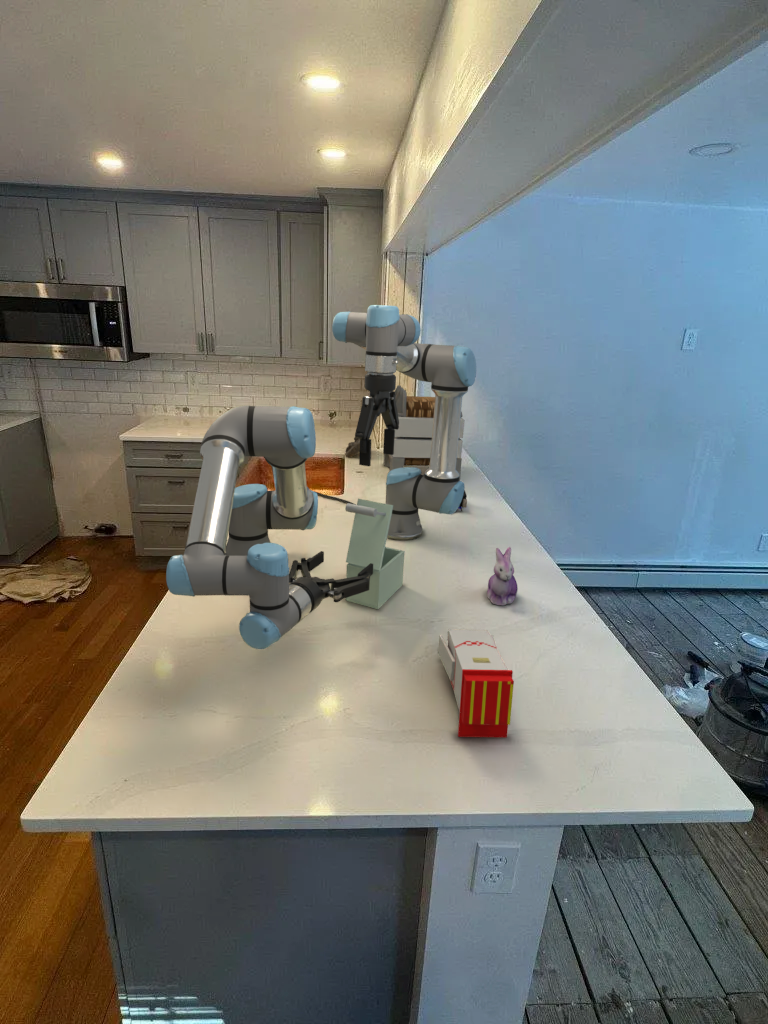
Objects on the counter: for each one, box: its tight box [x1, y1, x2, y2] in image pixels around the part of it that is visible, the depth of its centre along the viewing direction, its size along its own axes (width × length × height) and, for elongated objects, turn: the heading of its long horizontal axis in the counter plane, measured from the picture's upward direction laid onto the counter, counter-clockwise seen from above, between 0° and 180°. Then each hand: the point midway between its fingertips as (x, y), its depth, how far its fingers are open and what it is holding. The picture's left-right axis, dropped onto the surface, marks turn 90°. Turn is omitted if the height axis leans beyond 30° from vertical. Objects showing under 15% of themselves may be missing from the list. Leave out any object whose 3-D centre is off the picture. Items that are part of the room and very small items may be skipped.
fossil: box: [344, 436, 360, 458], centre depth 304 cm, size 22×10×15 cm
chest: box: [345, 546, 405, 610], centre depth 156 cm, size 16×10×11 cm, turn 155°
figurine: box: [486, 546, 518, 606], centre depth 155 cm, size 9×10×15 cm
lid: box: [344, 498, 393, 570], centre depth 143 cm, size 17×10×9 cm
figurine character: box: [457, 489, 468, 512], centre depth 228 cm, size 7×8×15 cm
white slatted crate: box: [383, 384, 465, 481], centre depth 268 cm, size 34×33×41 cm
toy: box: [437, 628, 515, 738], centre depth 117 cm, size 12×13×30 cm
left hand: (346, 562), depth 138 cm, fingers open, 13 cm apart
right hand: (377, 459), depth 143 cm, fingers open, 13 cm apart
